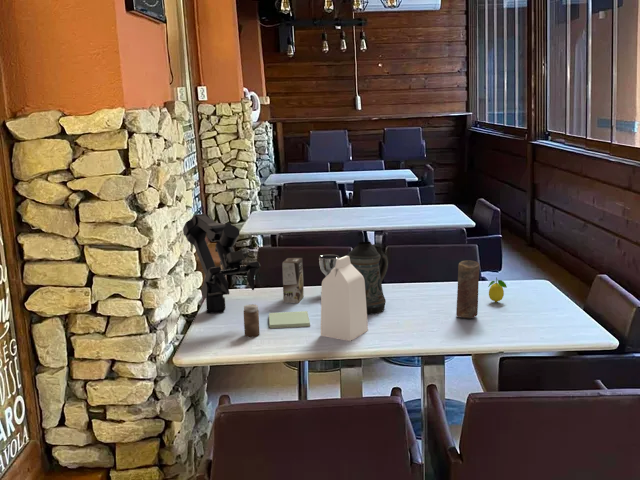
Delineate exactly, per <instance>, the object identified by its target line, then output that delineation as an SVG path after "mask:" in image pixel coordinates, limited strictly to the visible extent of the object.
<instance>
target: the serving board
mask: <svg viewBox="0 0 640 480" xmlns="http://www.w3.org/2000/svg"><path fill="white" fill-rule="evenodd" d="M268 320H269V321H268V322H269V329H280V328H281V329H282V328H302V327H303V328H304V327H311V321H310V317H309V312H308V311H307V310H306V311H303V310H302V311H286V312H285V311H284V312H282V311H281V312H269V313H268Z"/></svg>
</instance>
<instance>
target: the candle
mask: <svg viewBox="0 0 640 480" xmlns="http://www.w3.org/2000/svg"><path fill="white" fill-rule="evenodd" d="M457 269H458V271H457V292H456V293H457V294H456V295H457V296H456V314H455V316H456V317H458V318H461V319H467V320H468V319H469V320H471V319H472V318H475V317H477V316H478V313H479V310H478V309H479V279H480V264H479V262H478V261H475V260H470V259H469V260H461V261H460V262H459V263H458V267H457Z"/></svg>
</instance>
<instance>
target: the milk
mask: <svg viewBox="0 0 640 480" xmlns="http://www.w3.org/2000/svg"><path fill="white" fill-rule="evenodd" d="M320 295H321V299H320V301H321V302H320V307H321V308H320V337H325V338H326V337H327V338H331V339H338V340H342V341H347V342H352V341H353V340H355V339H357V338H359V337H360V336H361V335H364V334H365V333H366V332H369V325H368V322H369V321H368V315H367V307H366V293H365V280H364V277H363V276H362V274H361V273H360V272H359V271H358V270H357V269H356V268H355V267H354V266H353V265H352V264H351V262H350V257H349V256H347V255H344V256H342V257H339V259H337V261H336V265H335V267H334V268H333V269H332V270H331V272H330V273H329V274H328V275H327V276H326V275H325V277H324V278H323V279H322V281H321V292H320ZM351 340H352V341H351Z"/></svg>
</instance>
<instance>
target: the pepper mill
mask: <svg viewBox="0 0 640 480" xmlns="http://www.w3.org/2000/svg"><path fill="white" fill-rule="evenodd" d="M243 326H244V328H243V329H244V337H246V338H257V337H259V336H260V335H261V334H260V315H259V306H258V305H257V304H253V303H252V304H246V305H244V306H243Z"/></svg>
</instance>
